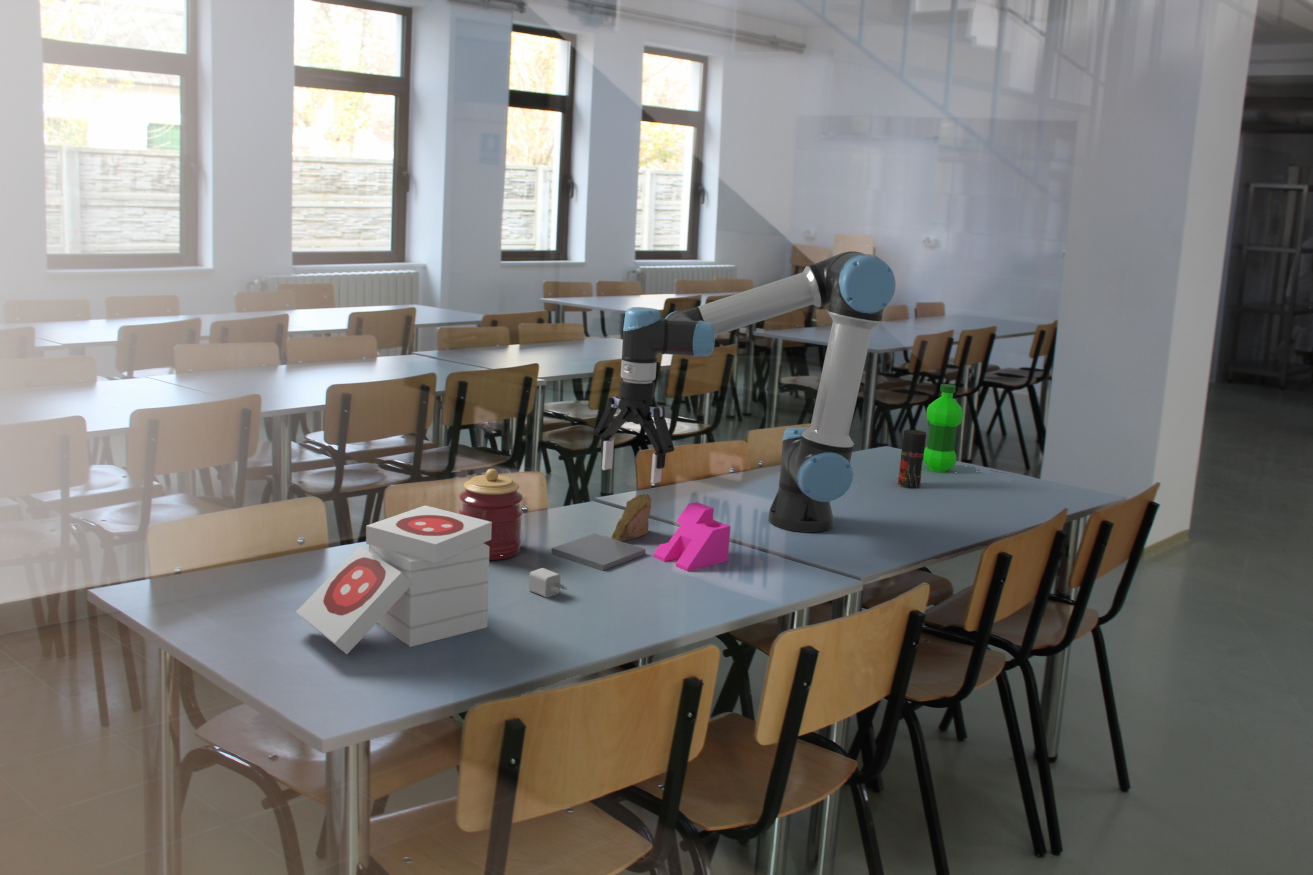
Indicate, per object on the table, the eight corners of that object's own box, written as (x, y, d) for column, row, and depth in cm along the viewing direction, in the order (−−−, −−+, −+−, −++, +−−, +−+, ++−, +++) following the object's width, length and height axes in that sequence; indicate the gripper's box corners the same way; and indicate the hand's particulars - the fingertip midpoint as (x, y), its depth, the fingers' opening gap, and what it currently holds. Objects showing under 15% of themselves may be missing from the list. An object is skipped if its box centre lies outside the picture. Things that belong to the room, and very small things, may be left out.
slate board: (645, 554, 230) (645, 549, 230) (603, 570, 219) (603, 564, 219) (594, 538, 238) (594, 533, 238) (551, 553, 227) (551, 547, 227)
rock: (619, 537, 233) (661, 527, 236) (607, 500, 235) (649, 491, 239) (606, 552, 242) (647, 543, 246) (595, 517, 245) (636, 508, 248)
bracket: (693, 547, 237) (696, 501, 235) (727, 560, 230) (731, 514, 227) (653, 557, 229) (656, 510, 226) (687, 572, 222) (690, 523, 219)
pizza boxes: (291, 629, 183) (289, 527, 179) (448, 594, 202) (450, 501, 198) (341, 671, 169) (340, 561, 165) (505, 629, 188) (508, 530, 184)
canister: (445, 548, 226) (446, 466, 222) (494, 536, 235) (496, 457, 231) (484, 565, 217) (486, 481, 213) (533, 552, 227) (536, 471, 223)
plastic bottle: (921, 472, 313) (931, 387, 307) (919, 463, 323) (929, 380, 317) (957, 475, 311) (968, 390, 306) (953, 467, 321) (964, 383, 316)
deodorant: (921, 489, 295) (928, 435, 291) (900, 487, 295) (906, 434, 292) (917, 483, 301) (923, 430, 297) (895, 481, 301) (901, 429, 297)
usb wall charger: (543, 586, 209) (544, 567, 208) (569, 596, 204) (570, 576, 204) (528, 591, 206) (529, 571, 205) (554, 602, 201) (555, 582, 200)
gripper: (582, 372, 237) (576, 466, 242) (674, 392, 223) (666, 491, 228) (603, 369, 243) (598, 460, 248) (695, 388, 229) (687, 484, 234)
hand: (630, 475), depth 238 cm, fingers open, 13 cm apart
